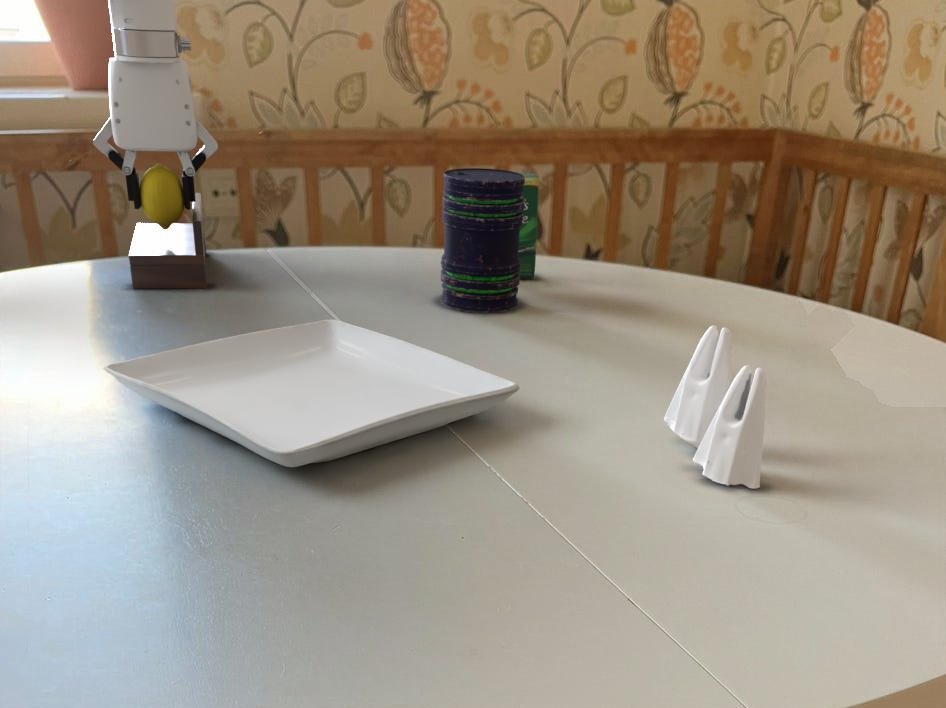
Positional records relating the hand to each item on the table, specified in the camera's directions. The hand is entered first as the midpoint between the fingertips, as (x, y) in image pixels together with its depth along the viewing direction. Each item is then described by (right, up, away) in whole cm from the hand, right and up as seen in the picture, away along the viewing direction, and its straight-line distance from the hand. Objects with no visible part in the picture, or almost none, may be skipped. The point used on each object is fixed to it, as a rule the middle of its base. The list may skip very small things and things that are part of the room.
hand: (162, 206), depth 135 cm
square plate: (+26, -35, -39) cm, 58 cm away
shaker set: (+61, -41, -45) cm, 86 cm away
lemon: (0, -3, +2) cm, 3 cm away
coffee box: (+44, -6, +9) cm, 46 cm away
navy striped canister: (+41, -14, -3) cm, 43 cm away
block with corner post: (0, -7, +5) cm, 8 cm away
